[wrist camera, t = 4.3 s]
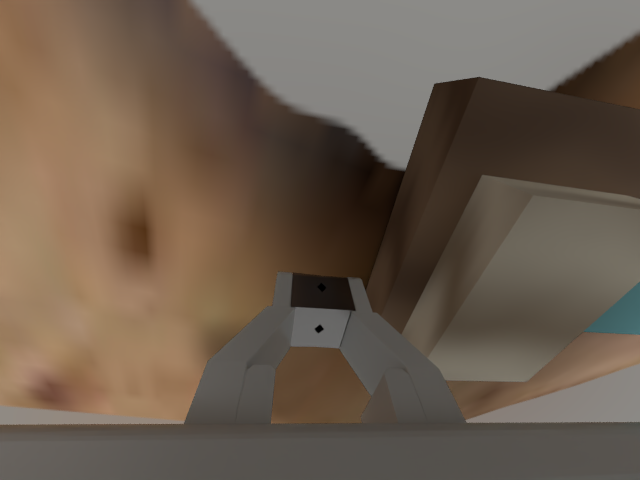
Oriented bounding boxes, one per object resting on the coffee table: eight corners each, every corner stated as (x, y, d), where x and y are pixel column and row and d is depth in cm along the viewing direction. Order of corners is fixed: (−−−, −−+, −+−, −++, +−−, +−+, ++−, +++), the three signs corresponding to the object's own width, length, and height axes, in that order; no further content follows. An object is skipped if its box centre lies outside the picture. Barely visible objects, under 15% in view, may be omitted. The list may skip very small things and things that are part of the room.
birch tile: (482, 175, 8) (533, 195, 6) (627, 195, 8) (710, 219, 7) (398, 341, 12) (413, 380, 10) (497, 345, 13) (526, 381, 11)
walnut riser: (434, 83, 8) (479, 77, 6) (671, 129, 10) (775, 136, 8) (352, 330, 15) (360, 366, 13) (496, 336, 17) (524, 370, 15)
